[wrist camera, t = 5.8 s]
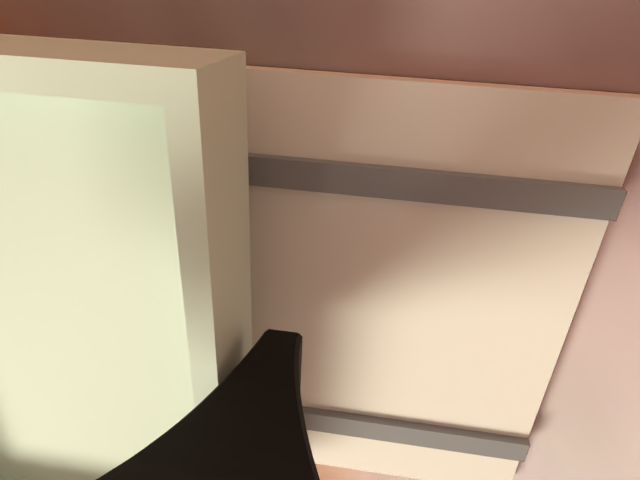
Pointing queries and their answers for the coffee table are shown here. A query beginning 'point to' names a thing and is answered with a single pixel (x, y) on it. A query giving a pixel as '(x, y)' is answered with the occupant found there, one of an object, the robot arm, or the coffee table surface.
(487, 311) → the rail board
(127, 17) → the coffee table surface
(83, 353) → the mint green storage bin
